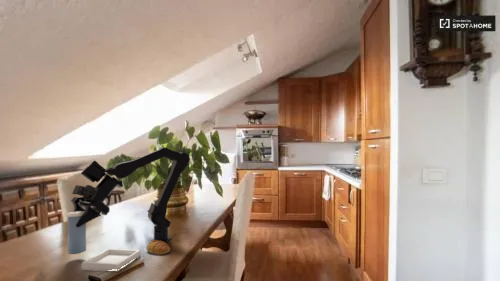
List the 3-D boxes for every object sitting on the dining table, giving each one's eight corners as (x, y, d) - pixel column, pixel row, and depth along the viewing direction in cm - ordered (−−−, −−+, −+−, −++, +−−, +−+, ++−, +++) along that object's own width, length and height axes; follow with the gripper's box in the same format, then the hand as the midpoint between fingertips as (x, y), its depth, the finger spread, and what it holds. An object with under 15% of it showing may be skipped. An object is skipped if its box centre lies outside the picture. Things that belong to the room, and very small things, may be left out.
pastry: (174, 251, 110) (174, 241, 110) (160, 257, 104) (159, 246, 104) (159, 247, 115) (158, 237, 115) (144, 252, 109) (144, 242, 109)
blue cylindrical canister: (76, 248, 106) (76, 210, 107) (90, 248, 105) (90, 210, 105) (63, 254, 100) (62, 214, 101) (78, 254, 99) (77, 214, 100)
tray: (108, 255, 107) (108, 248, 107) (140, 256, 104) (140, 250, 104) (82, 269, 94) (82, 262, 94) (117, 272, 91) (117, 264, 91)
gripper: (76, 175, 112) (43, 209, 103) (100, 177, 101) (66, 215, 92) (96, 193, 118) (67, 226, 109) (122, 196, 107) (92, 234, 98)
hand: (72, 225), depth 102 cm, fingers closed on blue cylindrical canister, 6 cm apart
